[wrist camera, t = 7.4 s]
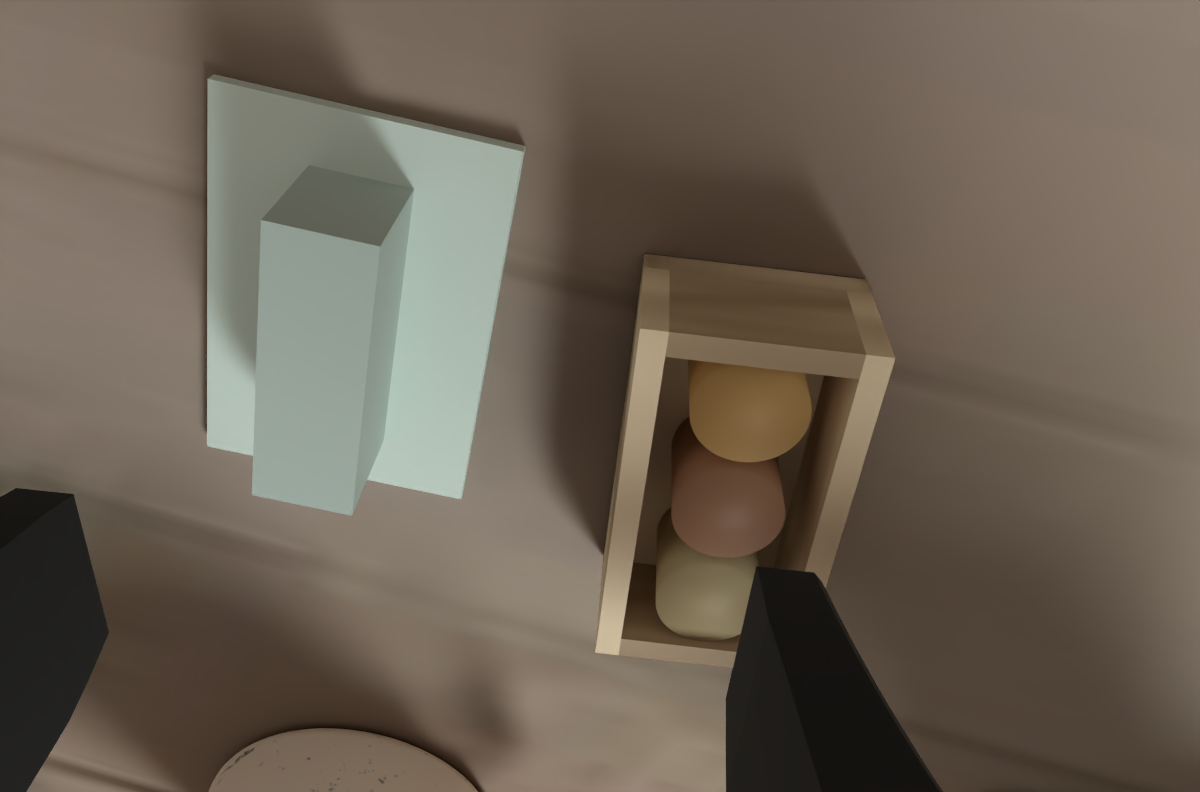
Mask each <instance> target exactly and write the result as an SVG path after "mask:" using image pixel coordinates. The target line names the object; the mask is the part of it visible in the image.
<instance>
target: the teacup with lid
mask: <svg viewBox="0 0 1200 792" xmlns="http://www.w3.org/2000/svg"><path fill="white" fill-rule="evenodd" d="M208 792H478V791H477V790H476V789H475V787H474V786H473V785H472V784H471V783H470V782H469V781H468V780H467V779H466V778H465V777H464V776H463V775H462V774H460V773H459V772H458V771H457V770H455V769H454V768H453V767H451V766H450V765H448V764H447V763H445V762H444V761H442V760H441V759H439V758H437V757H435V756H434V755H432V754H430V753H428V752H426V751H424V750H422V749H420V748H417V747H415V746H413V745H410V744H408V743H405V742H402V741H399V740H396V739H393V738H390V737H386V736H382V735H379V734H374V733H369V732H364V731H357V730H349V729H336V728H316V729H303V730H295V731H290V732H285V733H280V734H277V735H274V736H270V737H267V738H265V739H262V740H260V741H258V742H255V743H253V744H251V745H249V746H248V747H246V748H244V749H243V750H241V751H240V752H238V753H237V754H235V755H234V756H233V757H232V758H231V759H230V760H229V761H228V762H227V763H225V765H224V766H223V767H222V768H221V769H220V771H219V772H218V774H217V775H216V777H215V779H214V780H213V782H212V784H211V787H210V789H209V791H208Z"/></svg>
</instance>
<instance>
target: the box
mask: <svg viewBox="0 0 1200 792" xmlns="http://www.w3.org/2000/svg"><path fill="white" fill-rule="evenodd" d="M894 361H895V356H894V353H893V350H892V347H891V344H890V342H889V339H888V336H887V333H886V331H885V328H884V325H883V322H882V319H881V317H880V314H879V311H878V308H877V305H876V303H875V300H874V297H873V294H872V292H871V289H870V286H869V283H868V280H865V279H857V278H848V277H840V276H831V275H822V274H814V273H805V272H797V271H788V270H780V269H771V268H762V267H754V266H745V265H737V264H728V263H719V262H711V261H702V260H694V259H685V258H677V257H668V256H659V255H651V254H644V259H643V267H642V274H641V282H640V289H639V297H638V304H637V311H636V319H635V326H634V334H633V341H632V349H631V356H630V363H629V371H628V378H627V386H626V393H625V401H624V408H623V415H622V423H621V430H620V438H619V445H618V452H617V460H616V467H615V475H614V482H613V490H612V497H611V504H610V512H609V519H608V527H607V534H606V542H605V549H604V556H603V568H602V579H601V591H600V603H599V615H598V627H597V638H596V650H595V652H596V653H604V654H613V655H622V656H630V657H639V658H648V659H656V660H665V661H674V662H682V663H691V664H700V665H708V666H717V667H726V668H733V666H734V661H735V657H736V652H737V648H738V644H739V639H740V635H741V631H742V626H743V622H744V617H745V613H746V609H747V604H748V600H749V595H750V591H751V587H752V582H753V578H754V573H755V569H756V566H758V567H767V568H777V569H786V570H796V571H805V572H814V573H815V574H816V575H817V576H818V578H819V579H820V580H821V581H822V583H823V585H824V587H825V589H826V586H827V582H828V579H829V576H830V573H831V569H832V566H833V563H834V559H835V556H836V553H837V549H838V546H839V543H840V540H841V536H842V533H843V530H844V526H845V523H846V520H847V516H848V513H849V510H850V507H851V503H852V500H853V497H854V493H855V490H856V487H857V483H858V480H859V477H860V474H861V470H862V467H863V464H864V460H865V457H866V454H867V450H868V447H869V444H870V441H871V437H872V434H873V431H874V427H875V424H876V421H877V417H878V414H879V411H880V408H881V404H882V401H883V398H884V394H885V391H886V388H887V384H888V381H889V378H890V375H891V371H892V368H893V365H894Z"/></svg>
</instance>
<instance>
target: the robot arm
mask: <svg viewBox="0 0 1200 792" xmlns="http://www.w3.org/2000/svg"><path fill="white" fill-rule="evenodd" d="M108 633H109V631H108V627H107V623H106V619H105V615H104V612H103V608H102V604H101V600H100V596H99V592H98V588H97V584H96V580H95V576H94V572H93V569H92V565H91V561H90V557H89V553H88V549H87V545H86V541H85V537H84V533H83V530H82V526H81V522H80V518H79V514H78V510H77V506H76V502H75V498H74V494H66V493H56V492H47V491H37V490H28V489H18V488H16V489H14V490H12V491H10V492H9V493H7V494H5V495H3V496H1V497H0V792H26V791H27V790H28V788H29V786H30V785H31V783H32V781H33V780H34V778H35V777H36V775H37V773H38V772H39V770H40V768H41V767H42V765H43V763H44V762H45V760H46V759H47V757H48V755H49V754H50V752H51V750H52V749H53V747H54V745H55V744H56V742H57V740H58V739H59V737H60V735H61V734H62V732H63V730H64V729H65V727H66V725H67V724H68V722H69V720H70V718H71V716H72V714H73V712H74V710H75V707H76V705H77V703H78V701H79V699H80V697H81V695H82V693H83V690H84V688H85V686H86V684H87V682H88V680H89V677H90V675H91V673H92V671H93V668H94V666H95V664H96V661H97V659H98V657H99V654H100V652H101V650H102V647H103V645H104V643H105V640H106V638H107V636H108ZM726 792H943V791H942V790H941V788H940V787H939V785H938V784H937V782H936V781H935V779H934V778H933V776H932V774H931V773H930V771H929V770H928V768H927V767H926V765H925V764H924V762H923V761H922V759H921V758H920V756H919V754H918V753H917V751H916V749H915V748H914V746H913V744H912V743H911V741H910V740H909V738H908V736H907V735H906V733H905V731H904V730H903V728H902V727H901V725H900V723H899V722H898V720H897V718H896V717H895V715H894V714H893V712H892V710H891V709H890V707H889V705H888V704H887V702H886V700H885V699H884V697H883V695H882V693H881V692H880V690H879V688H878V687H877V685H876V683H875V681H874V680H873V678H872V676H871V674H870V672H869V671H868V669H867V667H866V665H865V663H864V662H863V660H862V658H861V656H860V654H859V653H858V651H857V649H856V647H855V645H854V643H853V642H852V640H851V638H850V636H849V634H848V632H847V630H846V628H845V626H844V625H843V623H842V621H841V619H840V617H839V615H838V613H837V611H836V609H835V607H834V605H833V603H832V601H831V599H830V597H829V595H828V593H827V591H826V589H825V587H824V585H823V583H822V581H821V580H820V579H819V578H818V576H817V575H816V574H815V573H814V572H805V571H796V570H786V569H777V568H767V567H758V566H756V569H755V573H754V578H753V582H752V587H751V591H750V595H749V600H748V604H747V609H746V613H745V617H744V622H743V626H742V631H741V635H740V639H739V644H738V648H737V652H736V657H735V661H734V666H733V670H732V674H731V679H730V683H729V688H728V692H727V696H726Z"/></svg>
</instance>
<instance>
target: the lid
mask: <svg viewBox="0 0 1200 792" xmlns="http://www.w3.org/2000/svg"><path fill="white" fill-rule="evenodd" d="M525 148H526V146H524V145H519V144H515V143H511V142H506V141H502V140H497V139H493V138H489V137H484V136H480V135H476V134H471V133H467V132H463V131H458V130H454V129H450V128H445V127H441V126H437V125H432V124H428V123H424V122H419V121H415V120H411V119H406V118H402V117H398V116H393V115H389V114H385V113H380V112H376V111H372V110H367V109H363V108H358V107H354V106H350V105H345V104H341V103H337V102H332V101H328V100H324V99H319V98H315V97H311V96H306V95H302V94H298V93H293V92H289V91H285V90H280V89H276V88H272V87H267V86H263V85H259V84H254V83H250V82H246V81H241V80H237V79H233V78H228V77H224V76H219V75H215V74H213V75H212V76H211V77H209V78H208V131H207V446H208V447H213V448H218V449H223V450H228V451H232V452H237V453H242V454H247V455H252V456H253V476H252V495H254V496H259V497H263V498H268V499H273V500H278V501H283V502H288V503H292V504H297V505H302V506H307V507H312V508H317V509H321V510H326V511H331V512H336V513H341V514H346V515H351V516H352V514H353V512H354V510H355V507H356V505H357V503H358V500H359V498H360V495H361V493H362V491H363V488H364V486H365V484H366V481H367V480H371V481H376V482H381V483H386V484H390V485H395V486H400V487H405V488H409V489H414V490H419V491H424V492H429V493H433V494H438V495H443V496H448V497H453V498H457V499H461V497H462V494H463V490H464V485H465V479H466V474H467V468H468V463H469V457H470V452H471V446H472V441H473V435H474V430H475V424H476V419H477V413H478V408H479V402H480V397H481V391H482V386H483V380H484V374H485V369H486V363H487V358H488V352H489V347H490V341H491V336H492V330H493V325H494V319H495V314H496V308H497V303H498V297H499V292H500V286H501V281H502V275H503V270H504V264H505V259H506V253H507V247H508V242H509V236H510V231H511V225H512V220H513V214H514V209H515V203H516V198H517V192H518V187H519V181H520V176H521V170H522V165H523V159H524V154H525Z"/></svg>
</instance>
